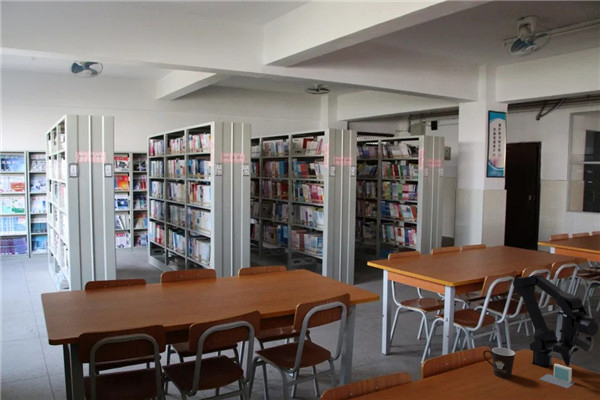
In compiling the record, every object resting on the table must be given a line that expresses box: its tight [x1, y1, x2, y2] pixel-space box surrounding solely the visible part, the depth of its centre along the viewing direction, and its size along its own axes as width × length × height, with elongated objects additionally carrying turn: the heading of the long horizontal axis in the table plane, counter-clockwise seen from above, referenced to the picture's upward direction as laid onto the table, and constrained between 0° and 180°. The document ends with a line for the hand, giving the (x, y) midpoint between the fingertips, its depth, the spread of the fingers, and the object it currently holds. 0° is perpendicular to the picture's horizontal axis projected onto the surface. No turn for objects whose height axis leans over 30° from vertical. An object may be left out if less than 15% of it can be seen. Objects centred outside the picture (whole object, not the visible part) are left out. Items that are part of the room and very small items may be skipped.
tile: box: [553, 363, 573, 383], centre depth 188 cm, size 6×2×6 cm, turn 41°
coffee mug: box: [482, 347, 516, 379], centre depth 193 cm, size 12×9×10 cm
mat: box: [539, 373, 576, 389], centre depth 187 cm, size 10×8×1 cm
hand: (567, 365), depth 192 cm, fingers closed
